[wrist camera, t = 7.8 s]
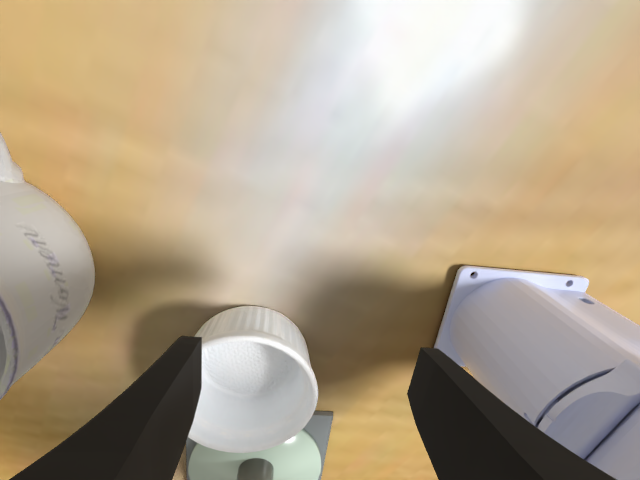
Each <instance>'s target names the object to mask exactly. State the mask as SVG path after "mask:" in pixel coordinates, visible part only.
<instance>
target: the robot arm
mask: <svg viewBox="0 0 640 480" xmlns="http://www.w3.org/2000/svg"><path fill="white" fill-rule="evenodd" d="M472 272H475V273H474V275H472V276H470V274H471V273H472ZM567 281H568V282H567ZM566 282H567V283H566ZM588 285H589V280H588V279H587V278H585V277H583V276H576V275H566V274H555V273H544V272H533V271H522V270H511V269H500V268H489V267H478V266H467V265H466V266H462V267H460V268H459V269H458V271H457V274H456V277H455V281H454V284H453V287H452V290H451V294H450V297H449V300H448V303H447V307H446V310H445V313H444V316H443V320H442V323H441V326H440V329H439V333H438V336H437V339H436V342H435V346H434V348H421V349H420V352H419V356H418V359H417V362H416V366H415V369H414V373H413V376H412V379H411V383H410V386H409V390H408V393H407V394H408V398H409V402H410V406H411V409H412V413H413V416H414V420H415V423H416V426H417V428H418V431H419V433H420V436H421V438H422V441H423V443H424V446H425V448H426V451H427V453H428V455H429V458H430V460H431V462H432V465H433V467H434V470H435V472H436V474H437V477H438V479H439V480H640V326H639V325H638V324H636V323H634V322H633V321H631V320H629V319H628V318H626V317H624V316H623V315H621V314H619V313H618V312H616V311H614V310H613V309H611V308H609V307H608V306H606V305H604V304H603V303H601V302H599V301H598V300H596V299H595V298H593V297H591V296H590V295H588V294H586V293H585V291H586V289H587V287H588ZM460 366H464V367H467V368H468V369H469V371H470V372H471V374H472V375H473V376H474V378H473V377H472V376H471V375H470V374H469V373H467V372H466V371H465V370H464V369H463V368H462V367H460ZM201 388H202V337H188V336H181V337H180V338H178V339H177V340H176V341H175V342H174V343H173V344H172V345H171V347H170V348H169V349H168V350H167V351H166V352H165V353H164V354H163V355H162V356H161V357H160V358H159V359H158V360H157V361H156V362H155V363H154V364H153V365H152V366H151V367H150V368H149V369H148V370H147V371H146V372H145V373H143V374H142V375H141V376H140V377H139V378H138V379H137V380H136V381H135V382H134V383H133V384H132V385H131V386H130V387H129V388H128V389H126V390H125V391H124V392H123V393H122V394H121V395H120V396H118V397H117V398H116V399H115V400H114V401H113V402H112V403H110V404H109V405H108V406H107V407H106V408H105V409H103V410H102V411H101V412H100V413H99V414H98V415H96V416H95V417H94V418H93V419H91V420H90V421H89V422H88V423H87V424H85V425H84V426H83V427H81V428H80V429H79V430H78V431H76V432H75V433H74V434H72V435H71V436H70V437H69V438H67V439H66V440H65V441H63V442H62V443H61V444H59V445H58V446H57V447H55V448H54V449H52V450H51V451H50V452H48V453H47V454H45V455H44V456H43V457H41V458H40V459H38V460H37V461H36V462H34V463H33V464H31V465H30V466H28V467H27V468H25V469H24V470H22V471H21V472H20V473H18V474H17V475H15V476H14V477H12V478H11V479H9V480H172V478H173V476H174V473H175V470H176V468H177V465H178V462H179V459H180V457H181V454H182V451H183V449H184V446H185V443H186V440H187V437H188V435H189V432H190V429H191V426H192V424H193V420H194V417H195V413H196V409H197V405H198V401H199V397H200V392H201Z"/></svg>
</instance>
